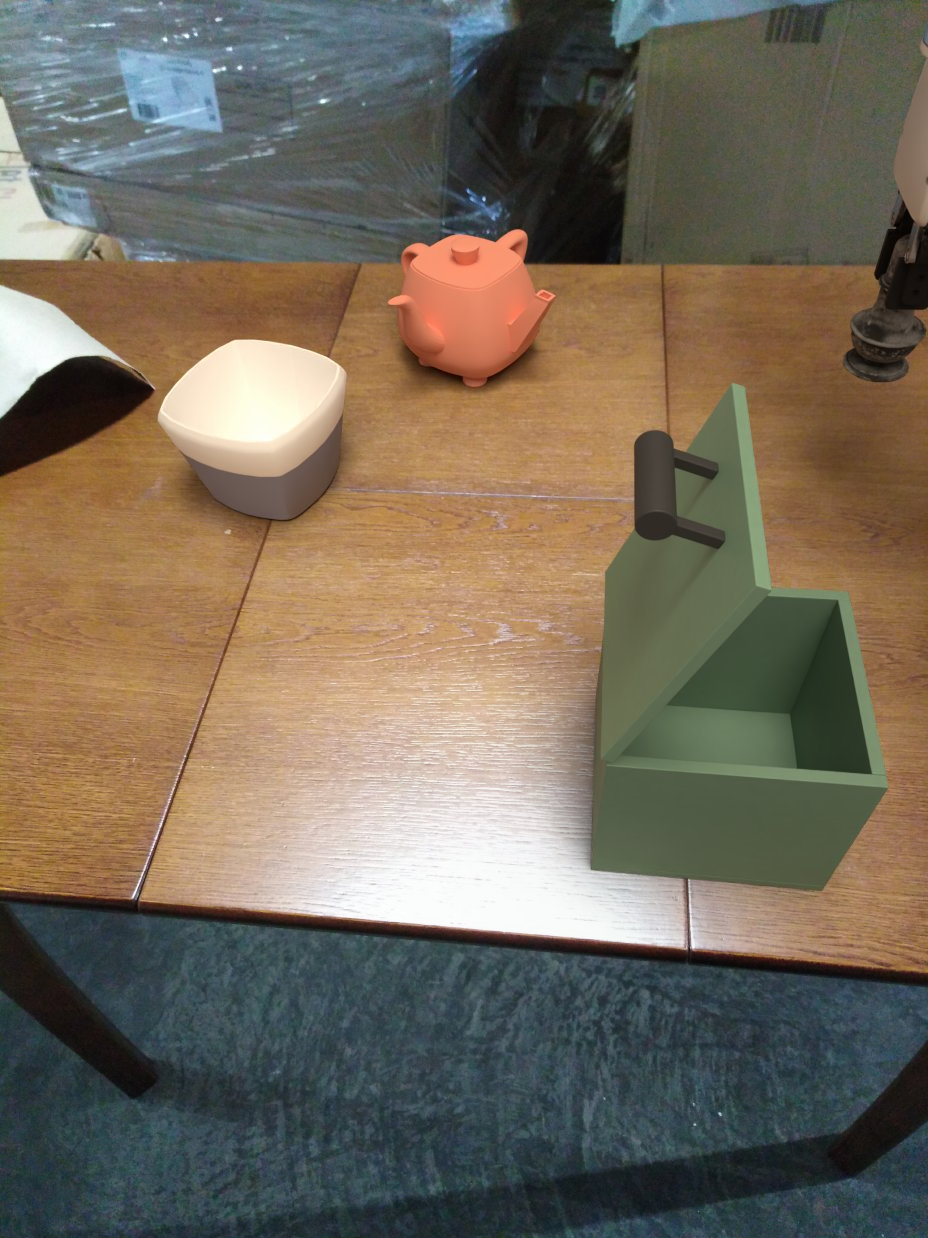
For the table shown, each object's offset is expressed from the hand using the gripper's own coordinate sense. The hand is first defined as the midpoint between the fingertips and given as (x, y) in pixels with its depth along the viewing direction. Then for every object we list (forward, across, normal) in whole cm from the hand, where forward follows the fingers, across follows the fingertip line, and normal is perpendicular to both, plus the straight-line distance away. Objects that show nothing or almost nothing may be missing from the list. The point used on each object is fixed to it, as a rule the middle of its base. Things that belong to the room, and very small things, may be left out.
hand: (900, 290), depth 71 cm
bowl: (+20, -3, +55) cm, 58 cm away
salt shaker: (+7, 0, 0) cm, 7 cm away
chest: (+21, -34, +14) cm, 42 cm away
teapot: (+20, +18, +37) cm, 46 cm away
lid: (-2, -34, +19) cm, 39 cm away
